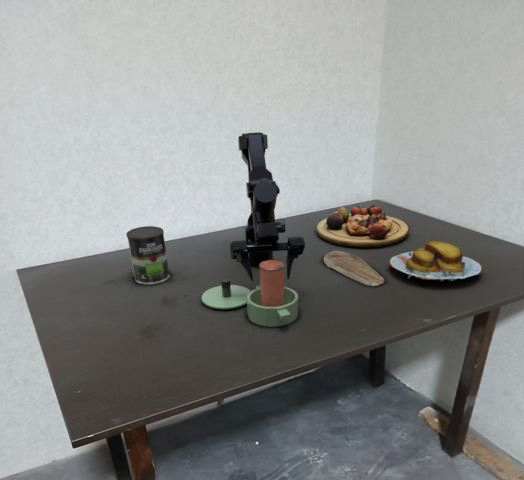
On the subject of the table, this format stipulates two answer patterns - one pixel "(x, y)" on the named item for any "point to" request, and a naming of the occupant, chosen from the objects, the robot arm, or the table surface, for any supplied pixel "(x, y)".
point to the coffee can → (148, 255)
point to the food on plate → (436, 262)
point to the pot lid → (225, 296)
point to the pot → (272, 309)
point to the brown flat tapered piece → (353, 268)
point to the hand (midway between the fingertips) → (270, 279)
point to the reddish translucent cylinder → (272, 283)
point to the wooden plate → (362, 228)
